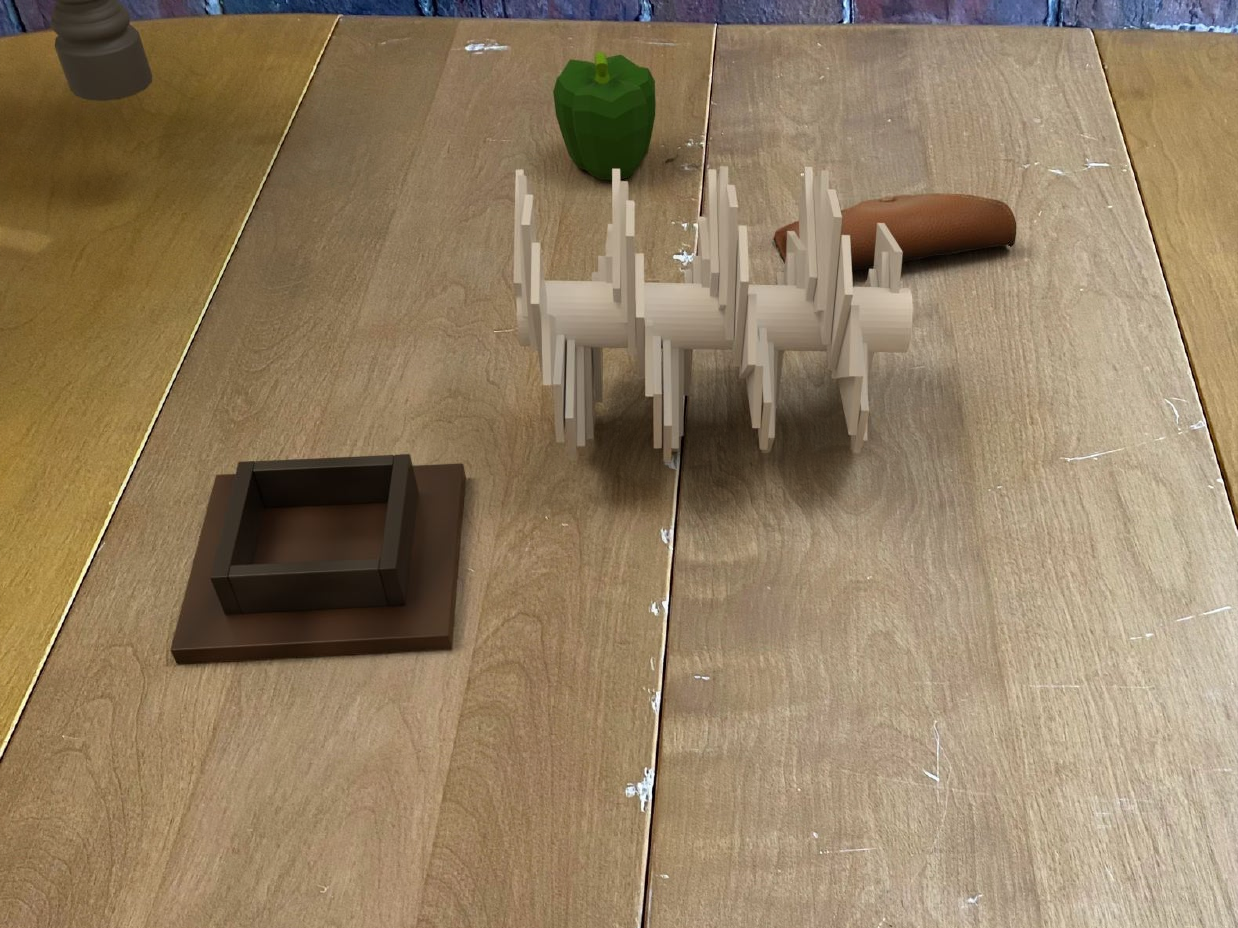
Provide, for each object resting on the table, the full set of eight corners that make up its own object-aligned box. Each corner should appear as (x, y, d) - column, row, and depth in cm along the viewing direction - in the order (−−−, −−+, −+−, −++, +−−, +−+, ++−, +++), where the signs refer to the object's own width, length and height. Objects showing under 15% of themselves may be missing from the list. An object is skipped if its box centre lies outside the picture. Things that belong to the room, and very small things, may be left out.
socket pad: (176, 664, 82) (152, 612, 78) (220, 488, 92) (201, 436, 89) (452, 649, 82) (440, 597, 79) (466, 477, 93) (455, 425, 89)
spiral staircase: (891, 507, 97) (528, 505, 95) (879, 283, 101) (532, 276, 99) (944, 372, 79) (500, 365, 77) (927, 107, 84) (506, 94, 82)
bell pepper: (580, 136, 123) (569, 17, 115) (669, 149, 121) (664, 29, 114) (545, 182, 117) (531, 61, 110) (638, 197, 116) (630, 74, 108)
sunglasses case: (972, 196, 115) (999, 148, 109) (997, 274, 114) (1025, 230, 108) (766, 231, 112) (780, 184, 105) (789, 312, 111) (806, 269, 104)
